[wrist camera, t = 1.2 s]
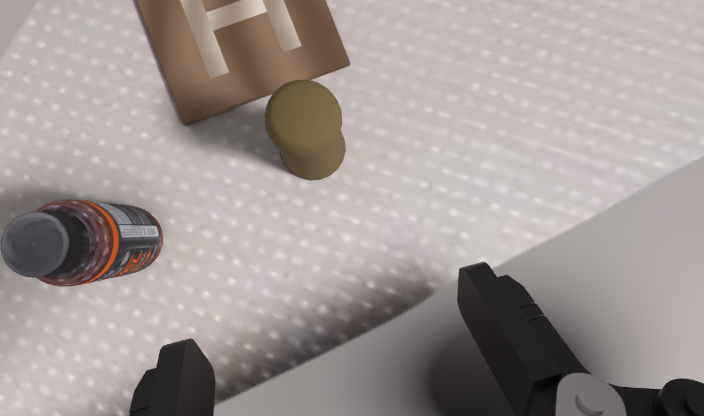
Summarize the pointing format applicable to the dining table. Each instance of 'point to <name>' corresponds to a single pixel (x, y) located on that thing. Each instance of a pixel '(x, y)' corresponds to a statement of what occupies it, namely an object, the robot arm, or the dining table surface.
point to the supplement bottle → (81, 242)
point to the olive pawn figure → (306, 128)
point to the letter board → (239, 49)
